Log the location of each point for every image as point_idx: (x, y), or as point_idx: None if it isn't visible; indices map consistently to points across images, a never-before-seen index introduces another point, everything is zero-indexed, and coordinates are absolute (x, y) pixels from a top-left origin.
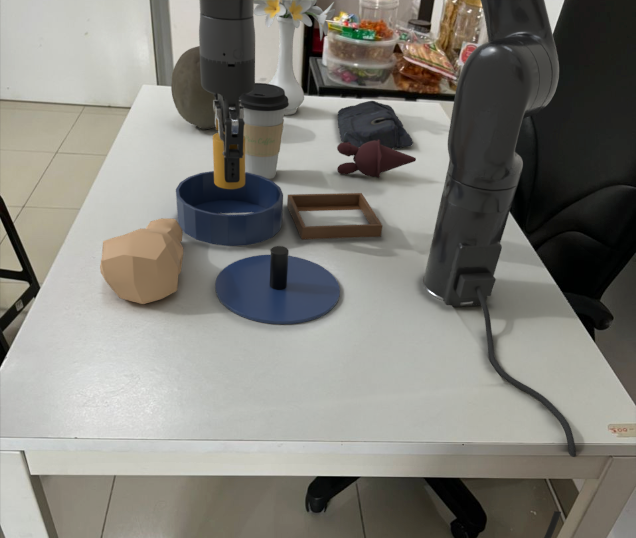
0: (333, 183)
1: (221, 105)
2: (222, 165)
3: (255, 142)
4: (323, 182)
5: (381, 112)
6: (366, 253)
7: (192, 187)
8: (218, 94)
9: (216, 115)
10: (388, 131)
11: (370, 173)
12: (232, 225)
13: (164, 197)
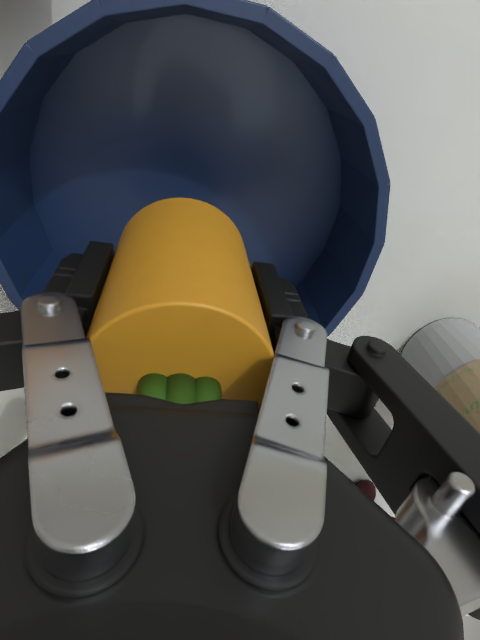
0: (330, 461)
1: (62, 595)
2: (114, 264)
3: (464, 409)
4: (342, 448)
5: None
6: (8, 437)
7: (350, 124)
8: (368, 613)
9: (56, 464)
10: None
11: None
12: None
13: (457, 20)
